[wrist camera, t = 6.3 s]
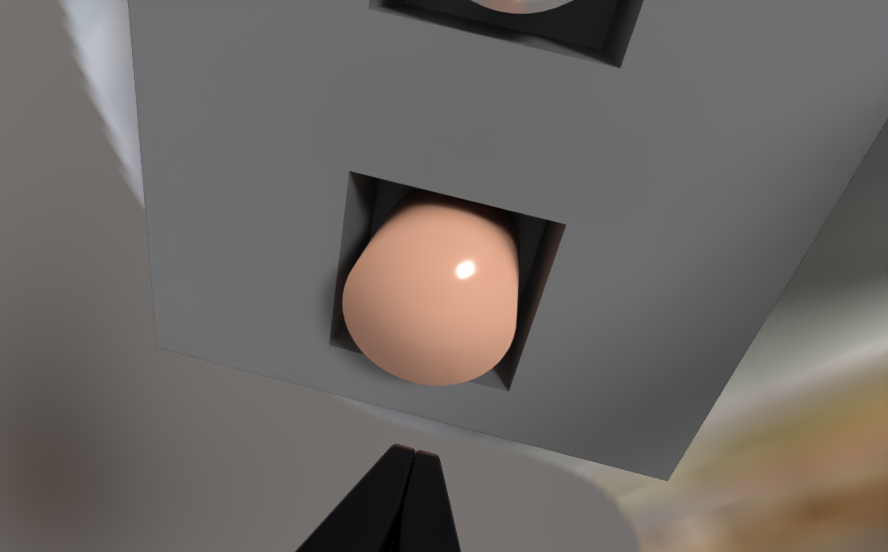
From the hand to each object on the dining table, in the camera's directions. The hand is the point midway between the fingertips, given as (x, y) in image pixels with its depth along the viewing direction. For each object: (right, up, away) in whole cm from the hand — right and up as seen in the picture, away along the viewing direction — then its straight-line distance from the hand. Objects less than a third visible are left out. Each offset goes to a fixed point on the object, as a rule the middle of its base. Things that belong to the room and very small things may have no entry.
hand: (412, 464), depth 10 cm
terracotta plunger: (+1, +4, +9) cm, 10 cm away
